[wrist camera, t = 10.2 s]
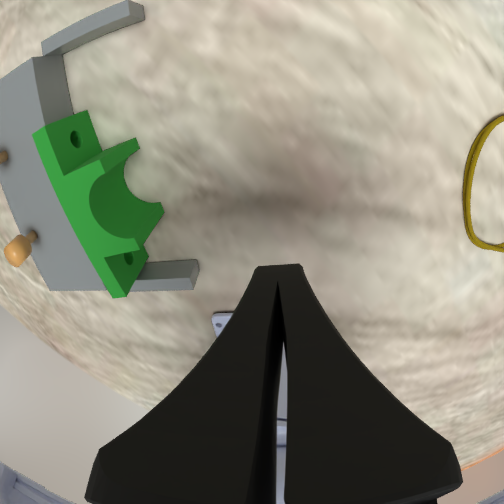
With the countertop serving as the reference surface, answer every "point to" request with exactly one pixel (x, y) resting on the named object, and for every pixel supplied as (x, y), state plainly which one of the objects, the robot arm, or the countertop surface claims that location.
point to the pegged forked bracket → (34, 174)
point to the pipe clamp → (98, 199)
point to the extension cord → (468, 184)
